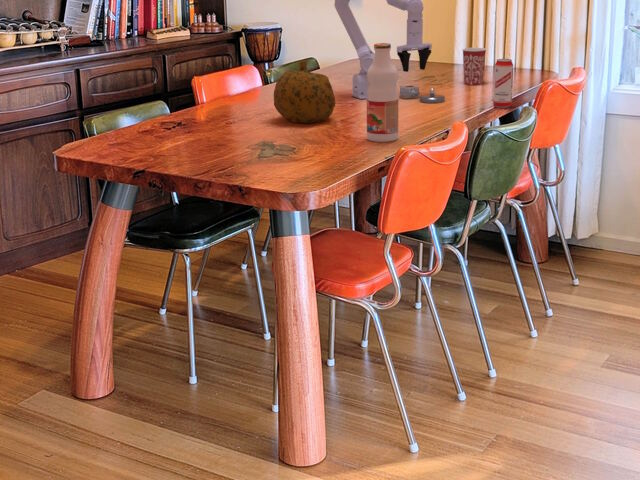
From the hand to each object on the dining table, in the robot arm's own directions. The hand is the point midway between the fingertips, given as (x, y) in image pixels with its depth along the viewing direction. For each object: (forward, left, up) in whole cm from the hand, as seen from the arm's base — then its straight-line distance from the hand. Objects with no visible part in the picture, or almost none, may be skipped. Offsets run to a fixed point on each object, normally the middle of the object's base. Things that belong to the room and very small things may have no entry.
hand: (414, 70), depth 335 cm
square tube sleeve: (-3, -2, -9) cm, 9 cm away
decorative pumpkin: (-51, -22, -10) cm, 56 cm away
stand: (-3, -2, -9) cm, 10 cm away
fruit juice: (-40, -58, -10) cm, 71 cm away
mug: (+33, +13, -10) cm, 37 cm away
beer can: (+17, -33, -10) cm, 38 cm away
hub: (+1, -12, -9) cm, 15 cm away
